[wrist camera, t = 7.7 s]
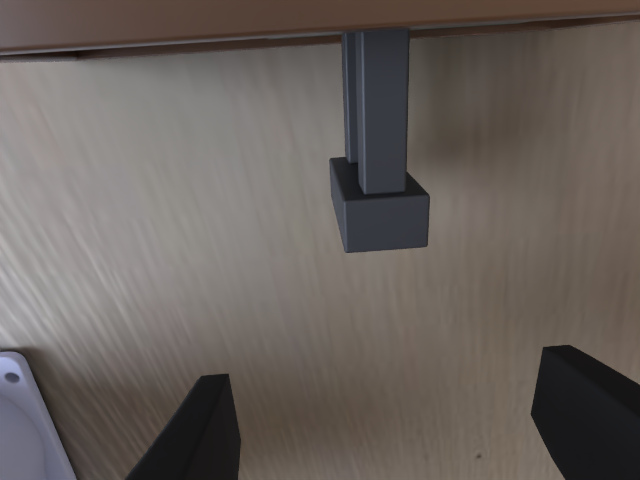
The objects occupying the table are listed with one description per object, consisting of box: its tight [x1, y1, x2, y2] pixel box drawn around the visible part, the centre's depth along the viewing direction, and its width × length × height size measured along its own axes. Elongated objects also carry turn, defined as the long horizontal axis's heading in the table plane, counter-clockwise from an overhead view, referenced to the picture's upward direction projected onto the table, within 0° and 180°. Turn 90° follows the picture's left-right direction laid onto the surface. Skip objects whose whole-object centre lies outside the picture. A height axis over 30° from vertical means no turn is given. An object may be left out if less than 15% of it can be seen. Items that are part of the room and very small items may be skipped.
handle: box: [267, 21, 530, 253], centre depth 10 cm, size 5×7×5 cm
